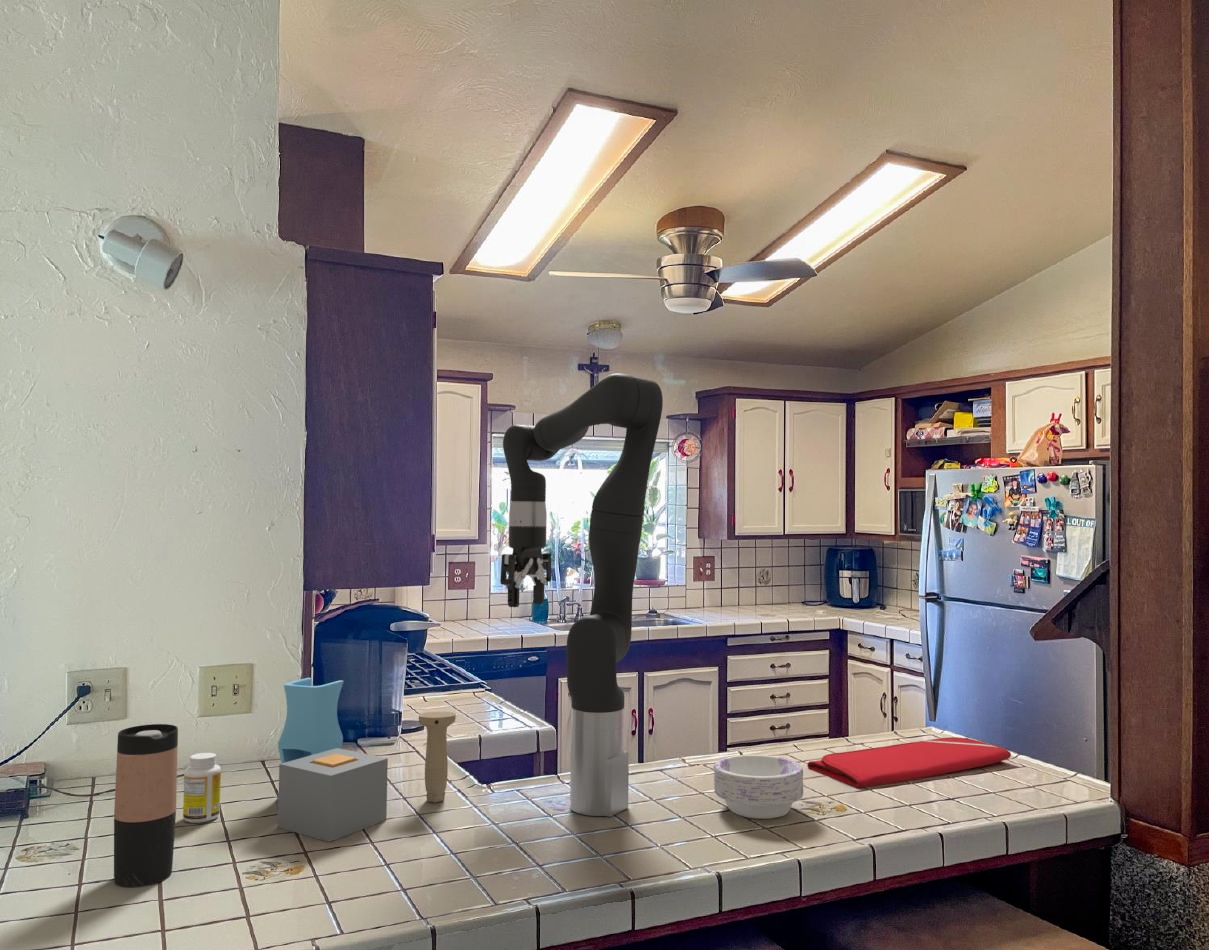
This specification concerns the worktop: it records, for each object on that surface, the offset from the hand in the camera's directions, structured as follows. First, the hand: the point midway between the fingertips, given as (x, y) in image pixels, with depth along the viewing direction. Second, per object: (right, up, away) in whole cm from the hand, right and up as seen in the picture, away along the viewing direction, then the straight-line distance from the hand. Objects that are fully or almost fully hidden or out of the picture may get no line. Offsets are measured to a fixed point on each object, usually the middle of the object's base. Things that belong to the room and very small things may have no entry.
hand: (526, 605), depth 178 cm
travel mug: (-48, -30, -55) cm, 79 cm away
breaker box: (-29, -31, -33) cm, 54 cm away
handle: (-14, -32, -21) cm, 40 cm away
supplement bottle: (-51, -31, -31) cm, 67 cm away
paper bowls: (+42, -32, -25) cm, 58 cm away
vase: (-37, -32, -19) cm, 52 cm away
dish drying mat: (+78, -34, +4) cm, 86 cm away
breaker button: (-29, -24, -33) cm, 50 cm away
